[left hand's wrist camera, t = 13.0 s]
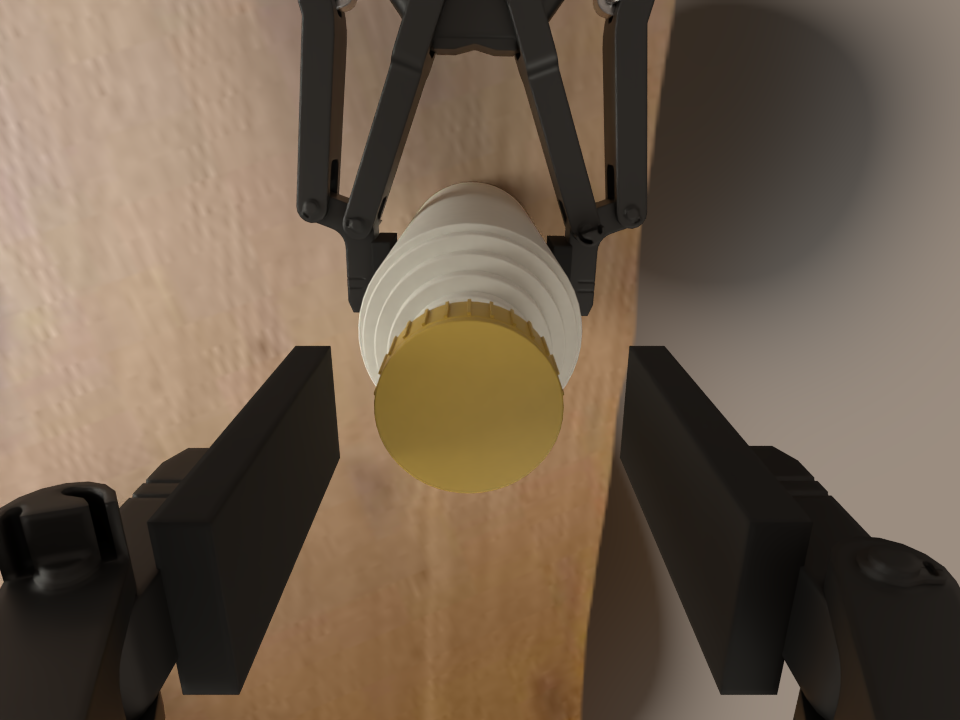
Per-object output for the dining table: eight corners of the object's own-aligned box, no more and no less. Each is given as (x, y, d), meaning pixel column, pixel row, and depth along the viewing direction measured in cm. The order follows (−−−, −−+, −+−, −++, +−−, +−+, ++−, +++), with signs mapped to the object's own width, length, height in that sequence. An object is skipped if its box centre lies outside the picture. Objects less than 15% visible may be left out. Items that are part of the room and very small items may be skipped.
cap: (589, 348, 15) (603, 372, 14) (503, 486, 17) (507, 523, 15) (430, 265, 15) (425, 282, 13) (353, 417, 16) (340, 448, 14)
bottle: (559, 221, 33) (676, 345, 14) (497, 329, 35) (525, 571, 16) (444, 157, 32) (398, 197, 13) (387, 273, 34) (273, 459, 15)
